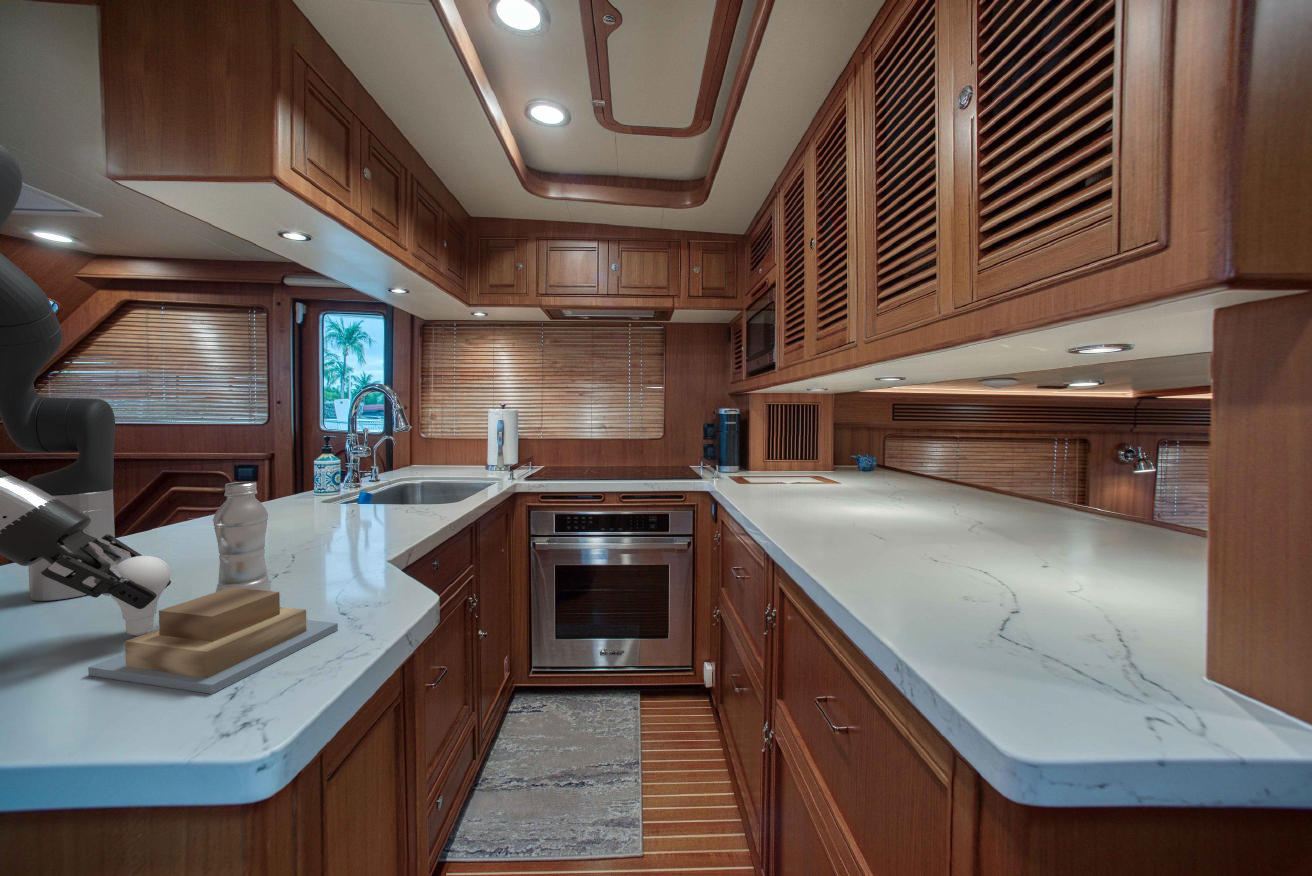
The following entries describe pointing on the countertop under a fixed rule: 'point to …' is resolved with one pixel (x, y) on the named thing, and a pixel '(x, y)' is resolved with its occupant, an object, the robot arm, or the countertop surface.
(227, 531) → the plastic bottle
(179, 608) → the block tower
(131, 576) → the lightbulb
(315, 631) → the slate board
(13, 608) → the countertop surface
